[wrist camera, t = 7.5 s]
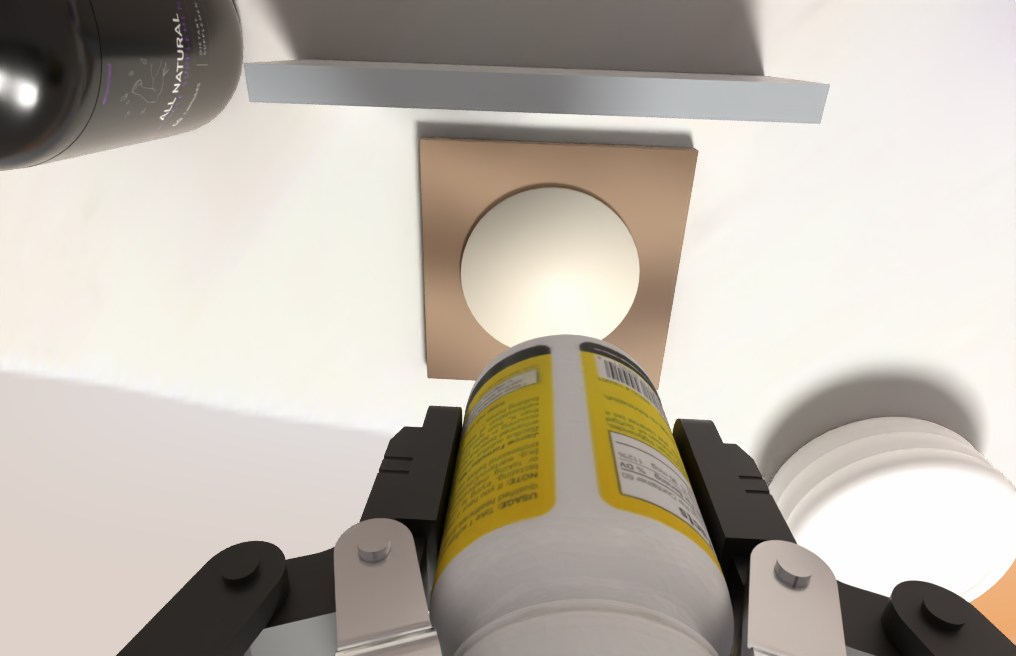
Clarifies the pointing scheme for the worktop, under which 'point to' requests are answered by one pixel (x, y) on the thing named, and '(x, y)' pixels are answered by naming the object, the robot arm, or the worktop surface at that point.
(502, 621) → the supplement bottle
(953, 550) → the coaster
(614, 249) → the walnut board
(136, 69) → the supplement bottle
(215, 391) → the worktop surface
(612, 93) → the low wall
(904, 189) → the worktop surface
